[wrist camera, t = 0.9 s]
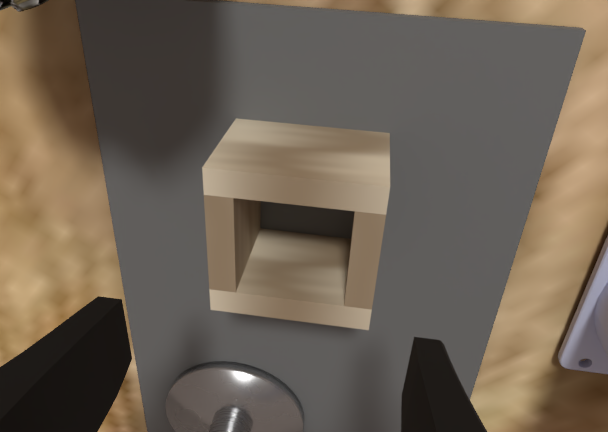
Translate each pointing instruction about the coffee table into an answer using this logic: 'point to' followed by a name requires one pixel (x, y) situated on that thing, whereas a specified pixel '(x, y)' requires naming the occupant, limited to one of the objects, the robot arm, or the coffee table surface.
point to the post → (232, 400)
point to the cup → (20, 4)
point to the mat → (314, 220)
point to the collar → (290, 245)
